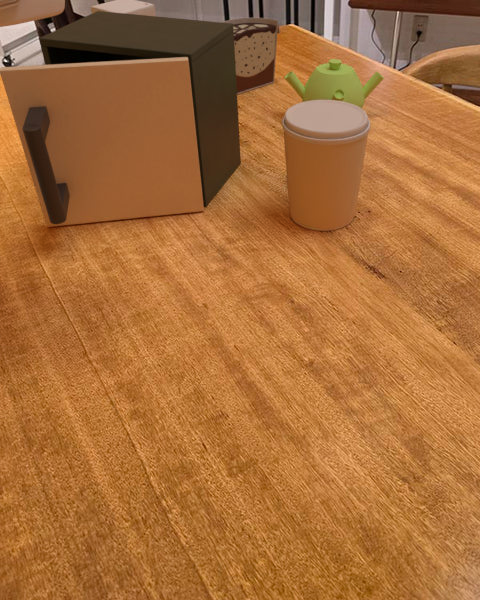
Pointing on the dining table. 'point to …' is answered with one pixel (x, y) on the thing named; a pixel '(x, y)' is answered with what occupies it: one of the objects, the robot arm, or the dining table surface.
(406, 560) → the dining table surface
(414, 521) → the dining table surface
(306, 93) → the teapot
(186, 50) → the cupboard
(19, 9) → the robot arm
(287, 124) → the coffee cup
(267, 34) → the food container
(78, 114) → the door
